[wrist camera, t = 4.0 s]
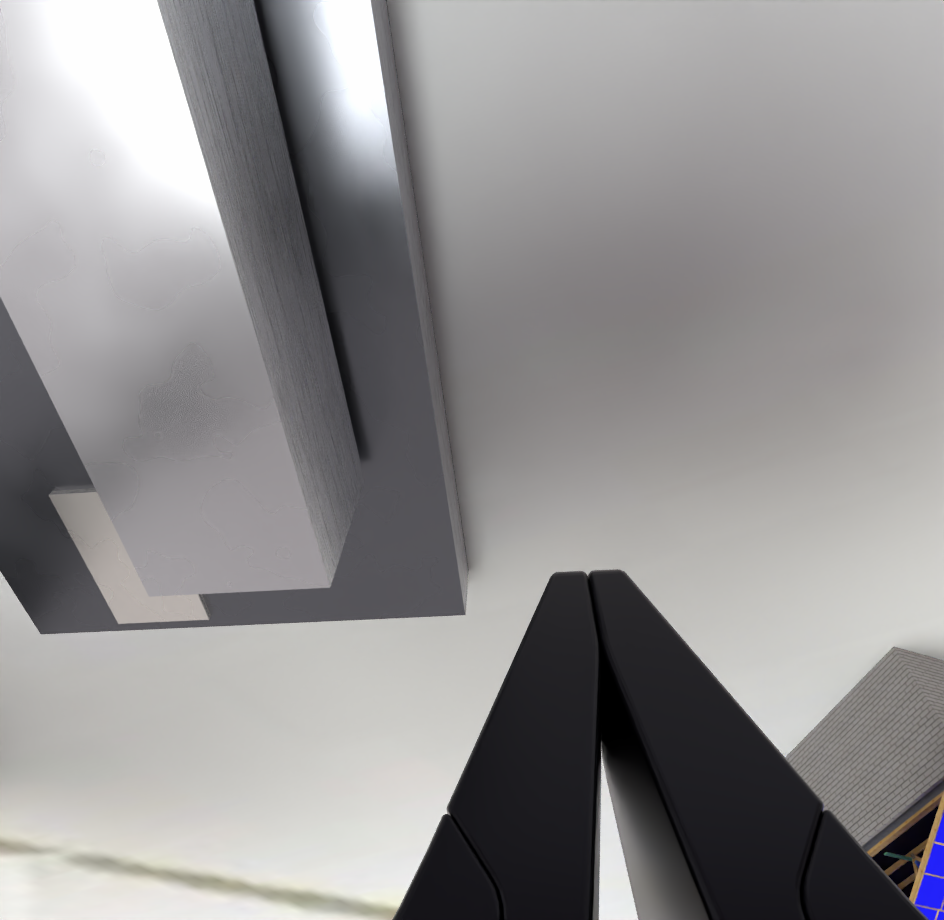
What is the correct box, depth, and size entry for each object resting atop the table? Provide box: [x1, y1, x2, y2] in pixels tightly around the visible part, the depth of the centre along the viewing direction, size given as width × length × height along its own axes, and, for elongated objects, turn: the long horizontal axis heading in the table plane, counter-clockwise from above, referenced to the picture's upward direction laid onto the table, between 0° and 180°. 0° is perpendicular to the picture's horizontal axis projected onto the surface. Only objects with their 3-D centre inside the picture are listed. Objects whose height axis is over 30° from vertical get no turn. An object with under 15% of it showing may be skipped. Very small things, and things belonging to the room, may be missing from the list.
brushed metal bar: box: [0, 0, 365, 597], centre depth 12 cm, size 18×4×6 cm, turn 6°
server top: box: [0, 0, 468, 634], centre depth 15 cm, size 24×14×2 cm, turn 6°
